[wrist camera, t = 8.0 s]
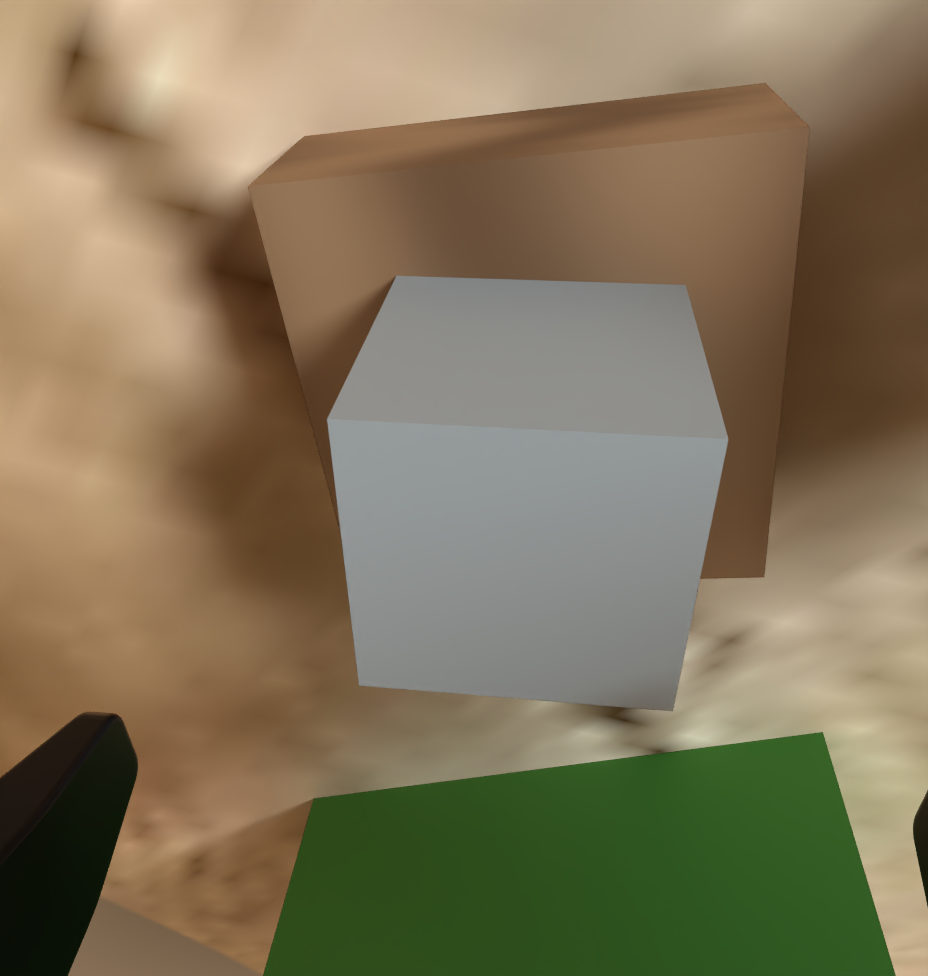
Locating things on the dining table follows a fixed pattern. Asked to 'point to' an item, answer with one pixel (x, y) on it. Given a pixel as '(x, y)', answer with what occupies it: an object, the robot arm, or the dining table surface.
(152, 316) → the dining table surface
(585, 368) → the slate cube
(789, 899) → the hardback book
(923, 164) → the dining table surface
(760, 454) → the walnut block
